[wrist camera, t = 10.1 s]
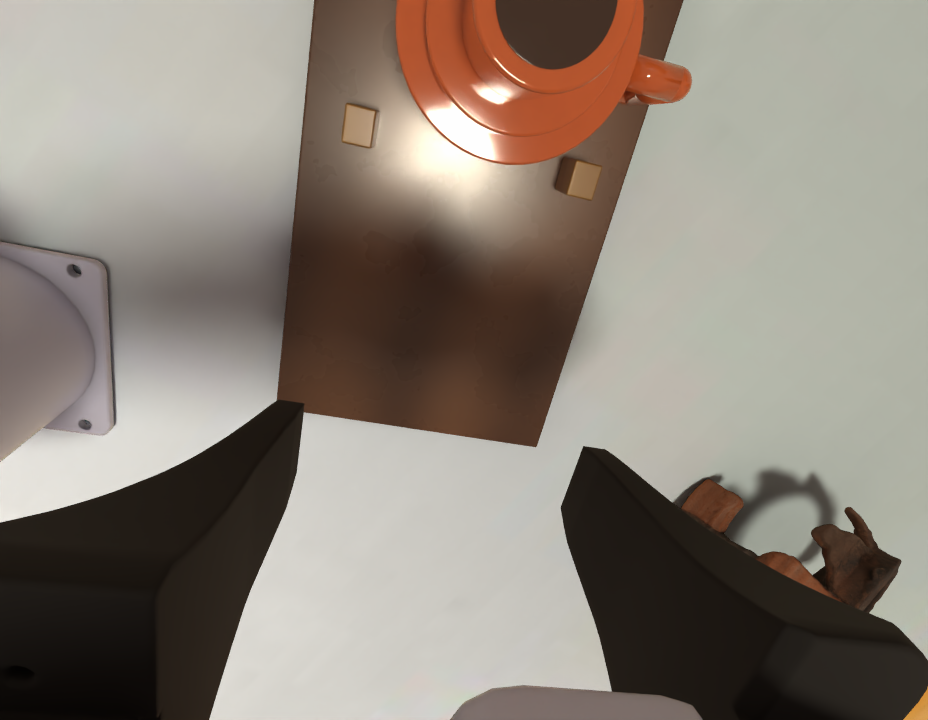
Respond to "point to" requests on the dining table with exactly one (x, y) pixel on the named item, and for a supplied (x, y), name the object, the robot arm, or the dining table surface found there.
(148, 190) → the dining table surface
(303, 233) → the stand
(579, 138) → the jug
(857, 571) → the brown arched frame
